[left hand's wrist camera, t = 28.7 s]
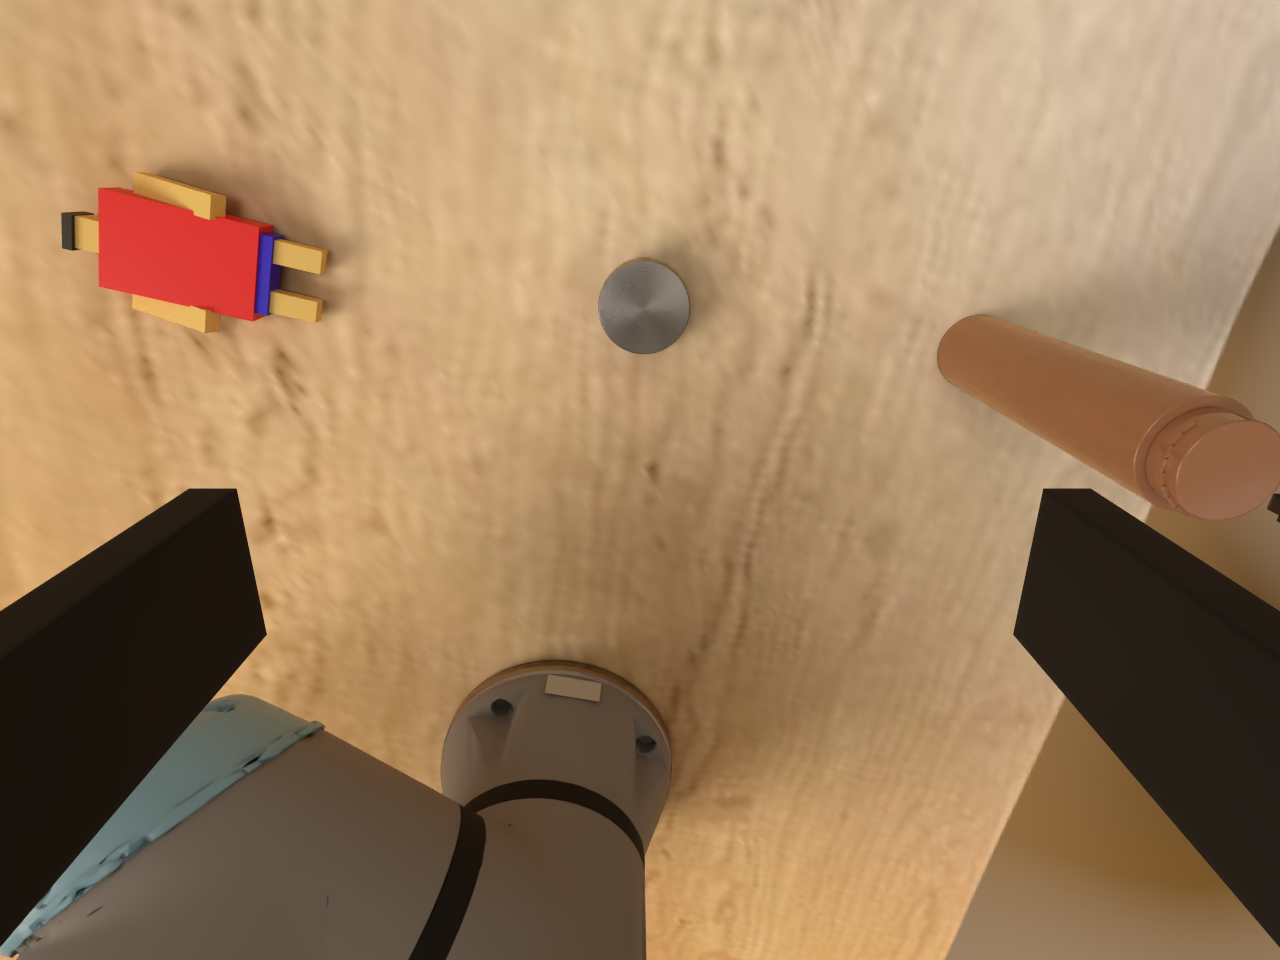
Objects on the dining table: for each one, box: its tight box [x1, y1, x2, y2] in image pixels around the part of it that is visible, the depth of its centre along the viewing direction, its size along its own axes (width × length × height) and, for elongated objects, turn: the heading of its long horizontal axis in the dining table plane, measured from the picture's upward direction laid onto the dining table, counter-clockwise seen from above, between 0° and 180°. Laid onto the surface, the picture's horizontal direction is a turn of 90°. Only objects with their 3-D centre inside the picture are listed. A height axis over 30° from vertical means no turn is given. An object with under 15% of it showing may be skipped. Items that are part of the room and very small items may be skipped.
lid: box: [598, 258, 690, 354], centre depth 39 cm, size 5×5×2 cm
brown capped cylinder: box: [937, 315, 1280, 521], centre depth 32 cm, size 4×4×19 cm
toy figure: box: [61, 172, 328, 333], centre depth 38 cm, size 2×7×12 cm
